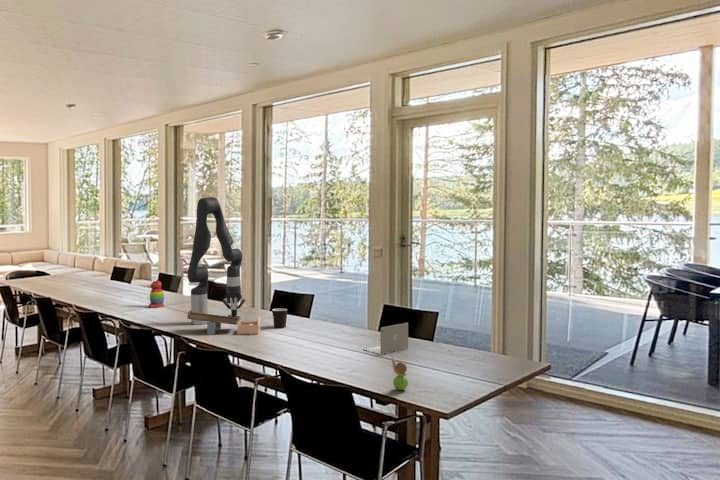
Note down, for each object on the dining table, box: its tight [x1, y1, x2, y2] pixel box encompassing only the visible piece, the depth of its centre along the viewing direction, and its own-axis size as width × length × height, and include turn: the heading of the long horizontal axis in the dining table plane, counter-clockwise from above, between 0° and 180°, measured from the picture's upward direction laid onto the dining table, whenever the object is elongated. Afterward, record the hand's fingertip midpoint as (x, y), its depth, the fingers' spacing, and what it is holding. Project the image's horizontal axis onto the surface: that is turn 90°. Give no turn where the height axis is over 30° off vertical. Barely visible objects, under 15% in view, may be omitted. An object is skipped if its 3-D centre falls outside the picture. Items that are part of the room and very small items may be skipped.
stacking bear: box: [148, 279, 165, 309], centre depth 395 cm, size 11×10×18 cm
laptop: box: [364, 322, 409, 355], centre depth 275 cm, size 18×12×13 cm
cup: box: [236, 315, 262, 335], centre depth 313 cm, size 11×11×8 cm
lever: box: [186, 309, 241, 326], centre depth 315 cm, size 14×26×5 cm, turn 93°
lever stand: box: [206, 322, 222, 336], centre depth 316 cm, size 17×4×6 cm, turn 3°
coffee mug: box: [271, 307, 288, 329], centre depth 328 cm, size 12×9×10 cm
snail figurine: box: [391, 356, 409, 391], centre depth 214 cm, size 5×6×12 cm
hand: (234, 316), depth 320 cm, fingers closed
